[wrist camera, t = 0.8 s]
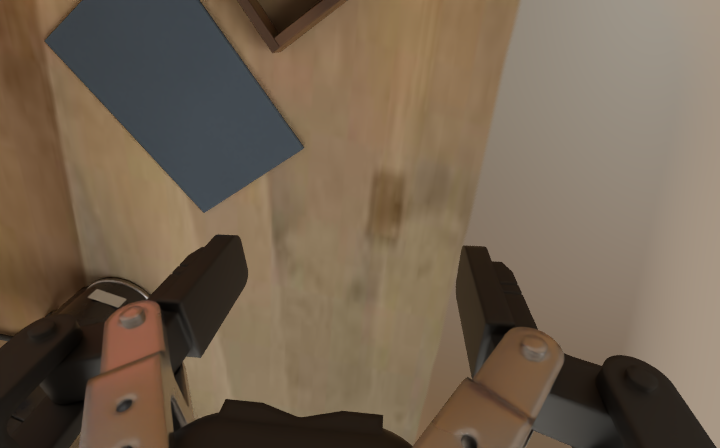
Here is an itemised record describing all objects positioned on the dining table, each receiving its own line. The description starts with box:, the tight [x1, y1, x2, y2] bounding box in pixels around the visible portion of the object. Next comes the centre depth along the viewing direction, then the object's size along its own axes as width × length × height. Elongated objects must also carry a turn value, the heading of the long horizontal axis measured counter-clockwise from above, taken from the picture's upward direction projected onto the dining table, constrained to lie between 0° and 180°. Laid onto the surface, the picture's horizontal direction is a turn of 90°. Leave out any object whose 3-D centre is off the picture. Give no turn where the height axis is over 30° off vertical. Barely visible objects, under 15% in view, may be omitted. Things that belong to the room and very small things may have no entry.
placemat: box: [45, 0, 304, 213], centre depth 32 cm, size 14×20×1 cm
